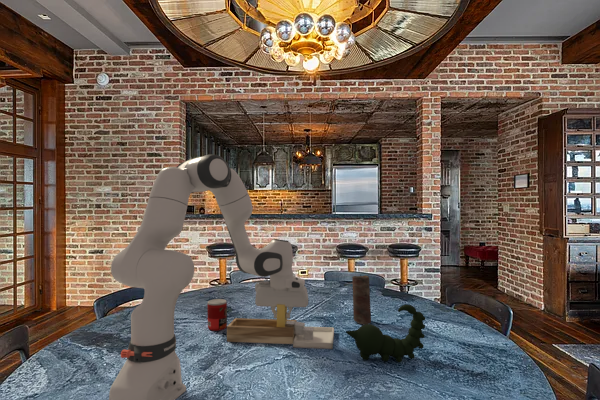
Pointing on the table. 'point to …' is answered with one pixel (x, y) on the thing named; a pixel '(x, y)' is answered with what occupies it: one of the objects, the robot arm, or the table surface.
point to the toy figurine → (390, 339)
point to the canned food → (217, 314)
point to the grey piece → (299, 328)
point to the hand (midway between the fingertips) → (282, 317)
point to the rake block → (281, 315)
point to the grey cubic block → (290, 324)
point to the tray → (316, 339)
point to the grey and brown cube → (308, 333)
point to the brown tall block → (361, 299)
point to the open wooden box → (259, 331)
